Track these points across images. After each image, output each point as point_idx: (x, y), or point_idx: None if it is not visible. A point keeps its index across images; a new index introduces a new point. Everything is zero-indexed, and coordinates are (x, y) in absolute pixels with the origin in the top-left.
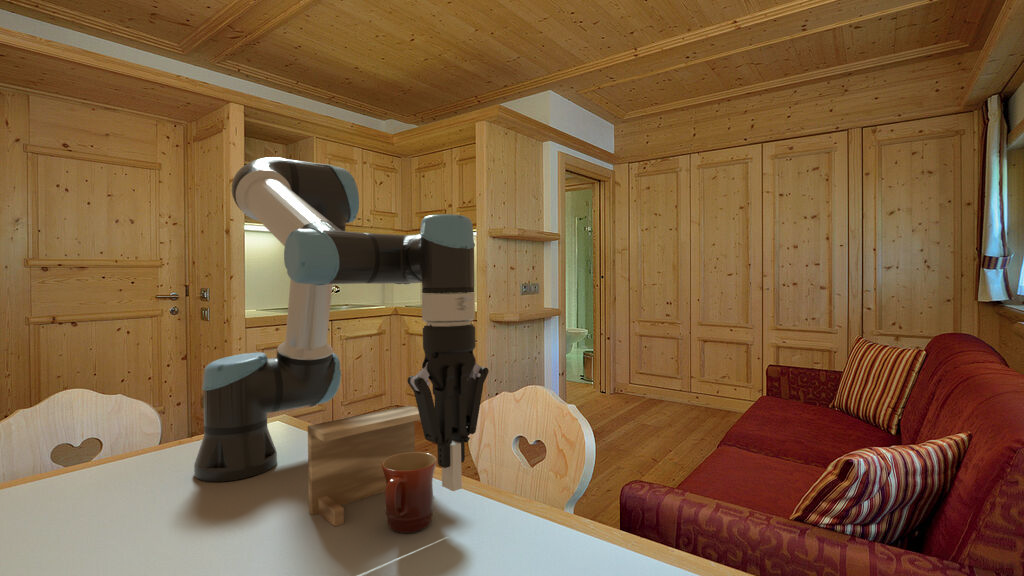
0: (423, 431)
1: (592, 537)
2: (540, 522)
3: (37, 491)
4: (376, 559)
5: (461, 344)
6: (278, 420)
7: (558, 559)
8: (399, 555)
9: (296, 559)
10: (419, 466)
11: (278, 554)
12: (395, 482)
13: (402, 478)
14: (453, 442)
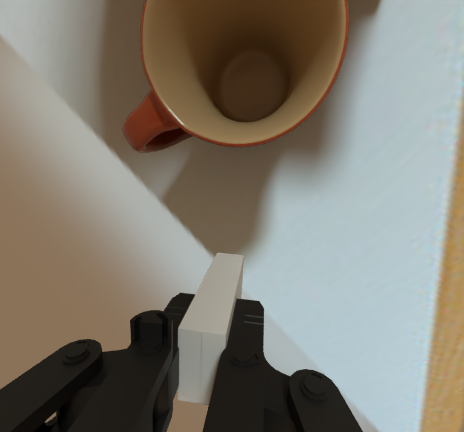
0: (23, 375)
1: (424, 362)
2: (420, 274)
3: None
4: (148, 159)
5: None
6: None
7: (332, 354)
8: (179, 176)
9: (55, 60)
10: (307, 18)
11: (35, 18)
12: (139, 140)
13: (167, 128)
14: (205, 378)
